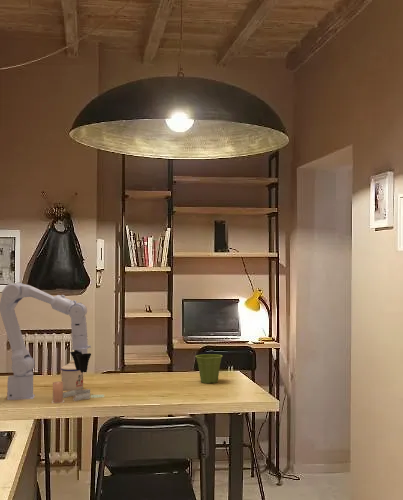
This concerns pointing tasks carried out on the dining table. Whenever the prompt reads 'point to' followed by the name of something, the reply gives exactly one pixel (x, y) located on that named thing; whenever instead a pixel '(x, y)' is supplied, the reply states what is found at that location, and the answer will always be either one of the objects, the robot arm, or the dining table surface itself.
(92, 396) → the board
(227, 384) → the dining table surface
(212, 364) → the plant pot
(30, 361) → the robot arm
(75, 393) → the rails
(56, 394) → the peg
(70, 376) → the teacup with lid
